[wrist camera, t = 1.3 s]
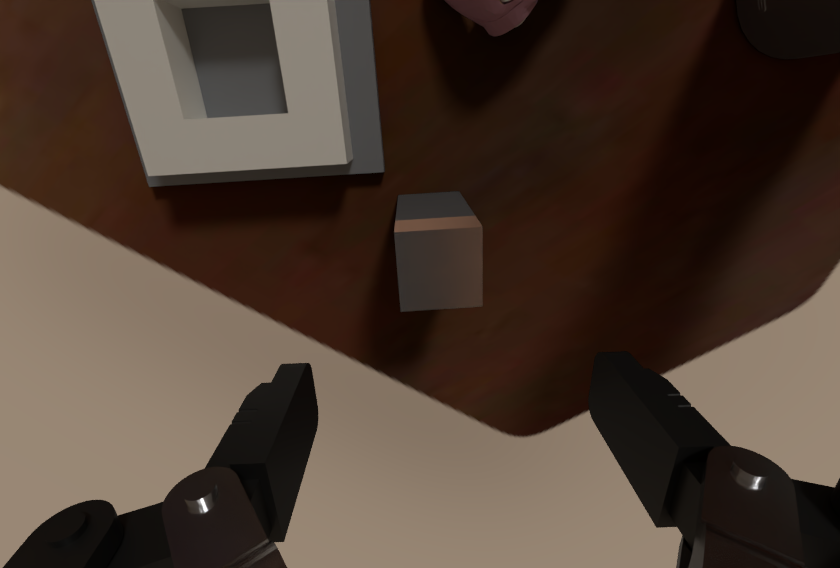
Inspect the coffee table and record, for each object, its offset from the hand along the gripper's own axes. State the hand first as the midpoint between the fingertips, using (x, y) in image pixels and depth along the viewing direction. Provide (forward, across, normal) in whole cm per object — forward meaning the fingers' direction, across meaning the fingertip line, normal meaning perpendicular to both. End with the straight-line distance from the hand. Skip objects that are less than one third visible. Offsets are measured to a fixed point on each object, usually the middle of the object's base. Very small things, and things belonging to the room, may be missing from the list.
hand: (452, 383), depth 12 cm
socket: (+20, +11, -10) cm, 25 cm away
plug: (+20, 0, 0) cm, 20 cm away
